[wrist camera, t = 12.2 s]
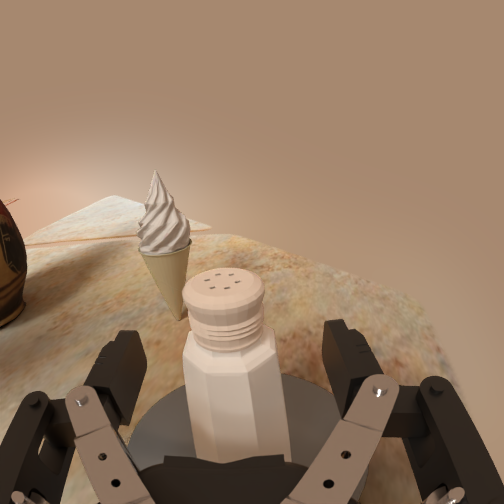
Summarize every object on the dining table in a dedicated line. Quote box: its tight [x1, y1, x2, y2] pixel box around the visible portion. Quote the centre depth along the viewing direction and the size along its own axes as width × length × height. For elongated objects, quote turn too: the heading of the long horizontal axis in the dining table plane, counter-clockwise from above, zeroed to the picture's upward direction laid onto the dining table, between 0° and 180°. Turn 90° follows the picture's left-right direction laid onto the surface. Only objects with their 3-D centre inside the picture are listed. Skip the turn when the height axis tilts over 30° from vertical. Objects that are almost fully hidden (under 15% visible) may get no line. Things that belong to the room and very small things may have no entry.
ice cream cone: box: [136, 169, 192, 320], centre depth 28 cm, size 5×5×15 cm
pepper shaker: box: [182, 268, 292, 463], centre depth 12 cm, size 5×5×11 cm
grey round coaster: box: [127, 374, 369, 501], centre depth 15 cm, size 14×14×2 cm
